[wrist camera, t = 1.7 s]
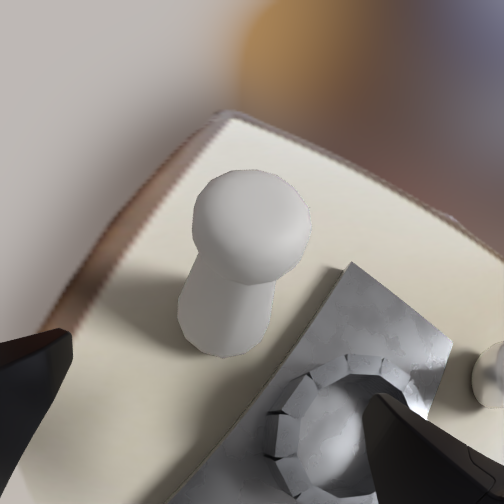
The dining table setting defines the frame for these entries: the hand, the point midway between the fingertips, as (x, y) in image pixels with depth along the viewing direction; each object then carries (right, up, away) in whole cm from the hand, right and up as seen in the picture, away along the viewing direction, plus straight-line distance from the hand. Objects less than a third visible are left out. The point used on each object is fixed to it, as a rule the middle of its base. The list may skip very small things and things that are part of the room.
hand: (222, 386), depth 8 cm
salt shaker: (-1, -1, +14) cm, 14 cm away
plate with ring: (+6, -9, +10) cm, 15 cm away
